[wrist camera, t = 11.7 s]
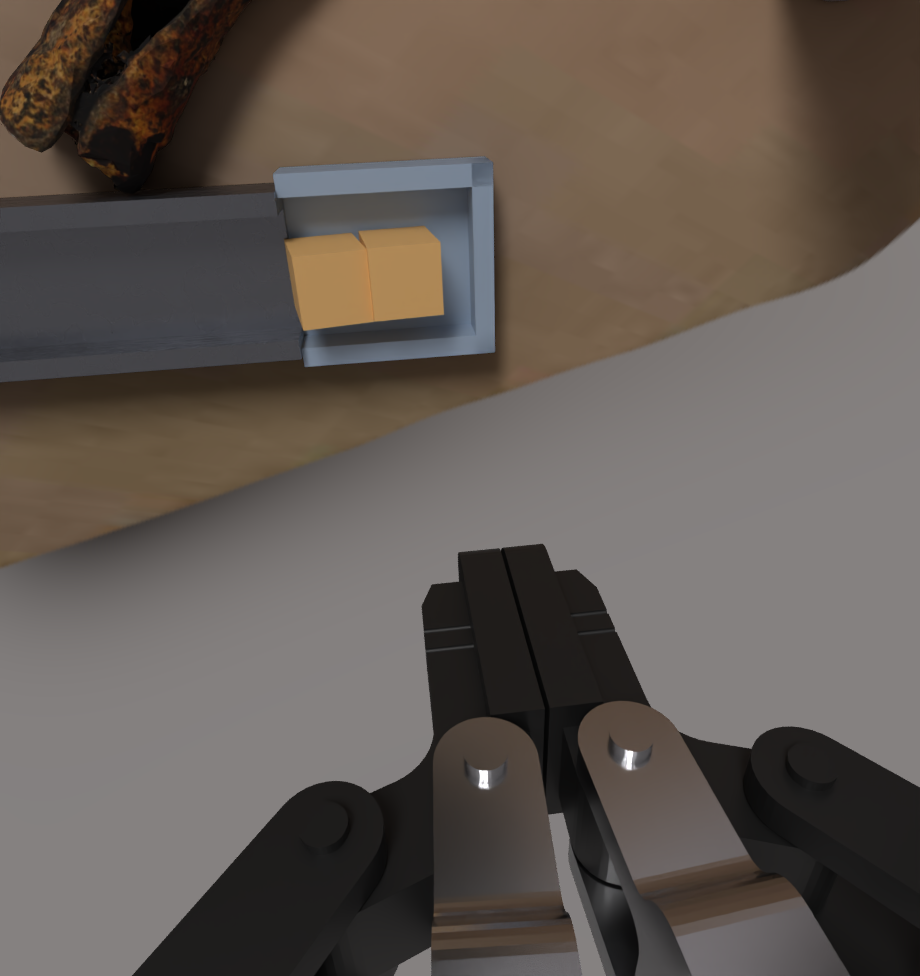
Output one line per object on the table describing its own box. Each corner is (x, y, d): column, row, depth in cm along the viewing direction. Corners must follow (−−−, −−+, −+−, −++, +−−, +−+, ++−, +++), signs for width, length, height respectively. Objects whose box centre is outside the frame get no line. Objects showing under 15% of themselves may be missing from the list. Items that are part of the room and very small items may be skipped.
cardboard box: (424, 225, 41) (440, 242, 37) (428, 291, 43) (443, 314, 39) (358, 230, 41) (366, 248, 36) (365, 297, 43) (374, 321, 38)
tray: (484, 156, 40) (493, 162, 38) (487, 336, 46) (494, 352, 43) (279, 167, 39) (273, 174, 37) (308, 349, 45) (304, 367, 42)
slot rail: (281, 182, 40) (273, 192, 36) (306, 337, 45) (301, 359, 41) (-136, 205, 38) (-186, 218, 35) (-63, 365, 43) (-100, 389, 40)
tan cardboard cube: (351, 232, 41) (366, 249, 37) (358, 298, 43) (373, 321, 39) (283, 239, 40) (291, 257, 36) (294, 306, 42) (303, 330, 38)
